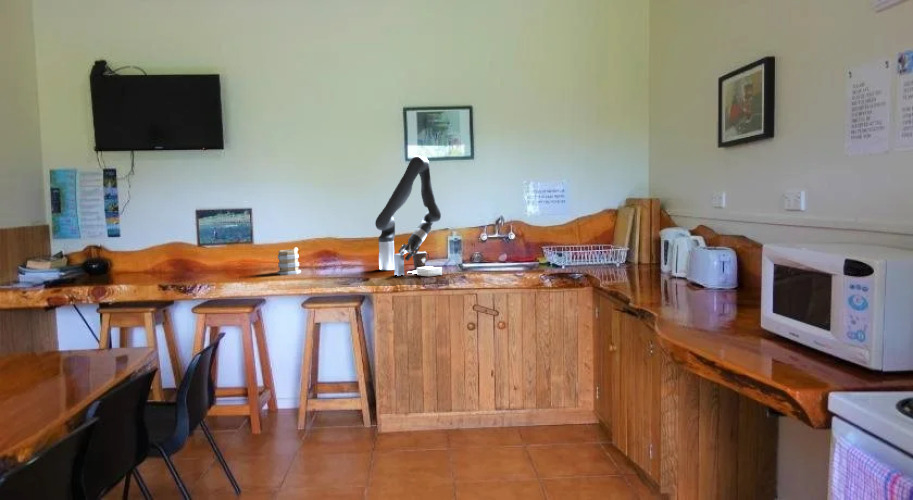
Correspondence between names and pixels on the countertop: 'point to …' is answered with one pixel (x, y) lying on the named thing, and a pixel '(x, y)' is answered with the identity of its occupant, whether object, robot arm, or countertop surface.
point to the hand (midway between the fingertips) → (401, 259)
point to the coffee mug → (420, 259)
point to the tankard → (288, 262)
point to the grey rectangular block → (399, 264)
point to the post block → (427, 271)
